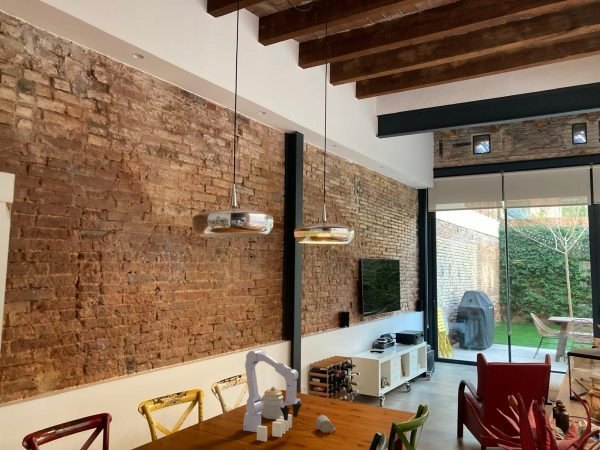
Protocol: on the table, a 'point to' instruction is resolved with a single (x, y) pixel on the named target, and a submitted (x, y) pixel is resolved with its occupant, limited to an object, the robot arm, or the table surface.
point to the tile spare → (262, 433)
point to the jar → (272, 403)
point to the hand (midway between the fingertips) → (290, 418)
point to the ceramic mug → (324, 424)
